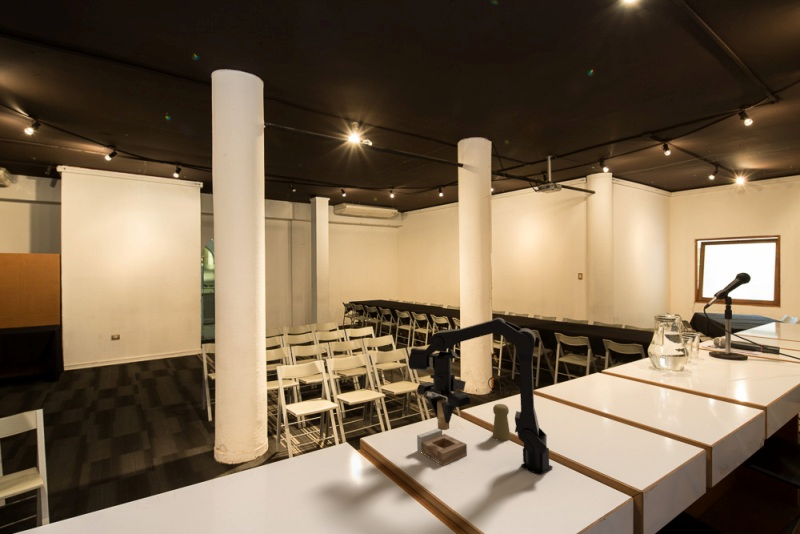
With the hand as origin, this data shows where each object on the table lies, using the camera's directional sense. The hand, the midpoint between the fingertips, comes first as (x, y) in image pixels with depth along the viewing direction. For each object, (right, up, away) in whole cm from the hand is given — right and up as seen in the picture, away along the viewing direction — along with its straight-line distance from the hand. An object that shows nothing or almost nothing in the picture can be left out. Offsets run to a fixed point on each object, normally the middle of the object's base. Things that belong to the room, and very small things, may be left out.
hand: (443, 421), depth 123 cm
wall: (-4, -11, +4) cm, 12 cm away
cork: (+21, -10, +12) cm, 26 cm away
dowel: (0, -2, 0) cm, 2 cm away
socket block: (0, -10, 0) cm, 10 cm away
